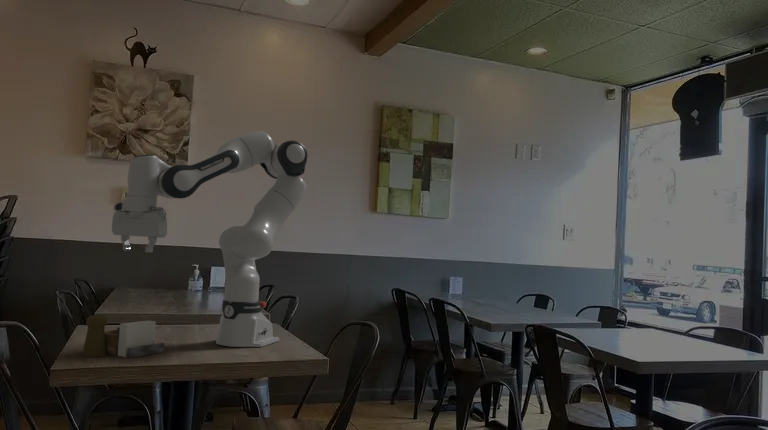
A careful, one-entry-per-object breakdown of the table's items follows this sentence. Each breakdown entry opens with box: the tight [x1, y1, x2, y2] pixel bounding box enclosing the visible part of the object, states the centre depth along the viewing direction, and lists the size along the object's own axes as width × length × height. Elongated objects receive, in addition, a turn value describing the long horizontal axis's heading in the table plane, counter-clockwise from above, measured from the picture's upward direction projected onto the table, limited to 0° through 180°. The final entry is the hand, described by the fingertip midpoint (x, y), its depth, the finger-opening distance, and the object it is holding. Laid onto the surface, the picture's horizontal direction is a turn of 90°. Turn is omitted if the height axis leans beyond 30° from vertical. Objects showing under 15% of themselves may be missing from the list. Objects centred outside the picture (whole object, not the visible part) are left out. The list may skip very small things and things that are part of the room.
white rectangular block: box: [117, 320, 157, 358], centre depth 166 cm, size 10×4×9 cm, turn 154°
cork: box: [81, 314, 108, 358], centre depth 161 cm, size 6×6×11 cm
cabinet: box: [104, 326, 165, 359], centre depth 168 cm, size 12×15×8 cm
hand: (137, 251), depth 176 cm, fingers open, 8 cm apart
